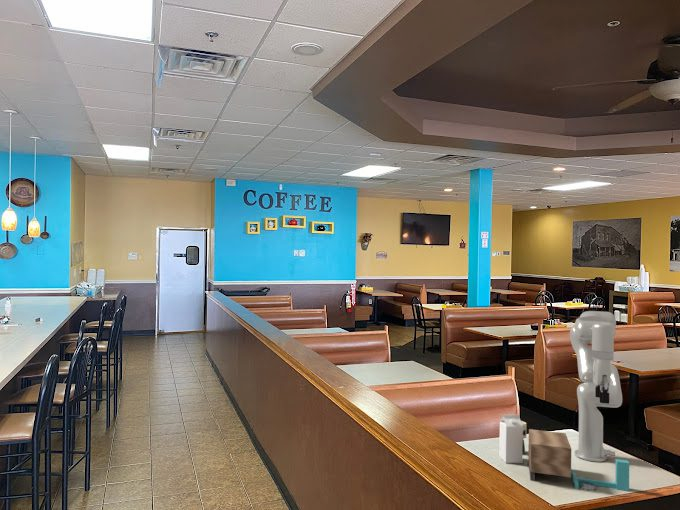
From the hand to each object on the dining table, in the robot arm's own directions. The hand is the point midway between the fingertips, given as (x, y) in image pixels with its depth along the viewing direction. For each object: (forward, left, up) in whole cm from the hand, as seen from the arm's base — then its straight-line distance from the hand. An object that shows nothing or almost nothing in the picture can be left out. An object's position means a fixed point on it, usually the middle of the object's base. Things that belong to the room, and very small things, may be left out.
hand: (602, 400), depth 199 cm
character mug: (+30, -21, -31) cm, 48 cm away
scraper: (+1, +6, -30) cm, 31 cm away
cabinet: (+19, +2, -30) cm, 36 cm away
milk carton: (+33, -9, -31) cm, 46 cm away
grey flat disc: (+6, +10, -31) cm, 33 cm away
